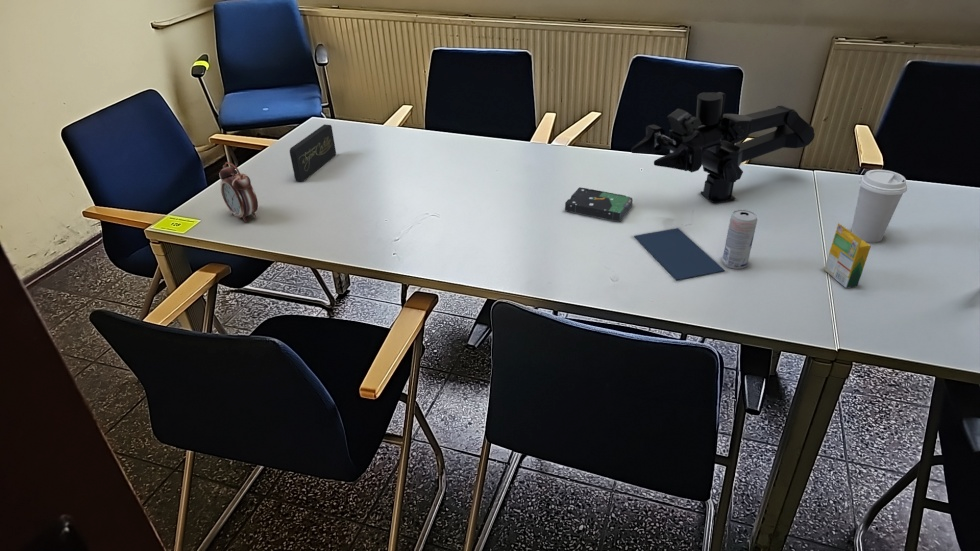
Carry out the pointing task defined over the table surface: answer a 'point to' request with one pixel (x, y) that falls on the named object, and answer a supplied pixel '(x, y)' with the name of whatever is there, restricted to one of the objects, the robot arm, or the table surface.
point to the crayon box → (847, 257)
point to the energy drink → (739, 239)
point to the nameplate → (312, 152)
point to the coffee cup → (877, 203)
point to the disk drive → (599, 204)
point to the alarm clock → (238, 192)
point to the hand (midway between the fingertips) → (642, 156)
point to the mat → (678, 254)
